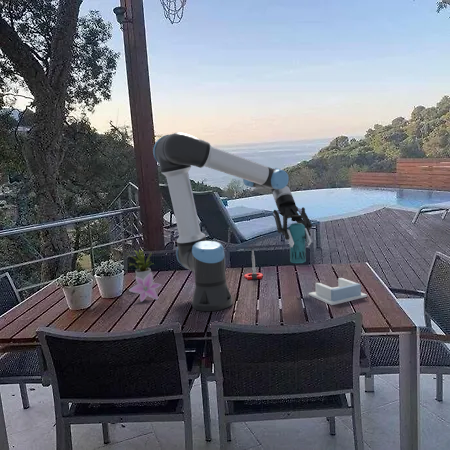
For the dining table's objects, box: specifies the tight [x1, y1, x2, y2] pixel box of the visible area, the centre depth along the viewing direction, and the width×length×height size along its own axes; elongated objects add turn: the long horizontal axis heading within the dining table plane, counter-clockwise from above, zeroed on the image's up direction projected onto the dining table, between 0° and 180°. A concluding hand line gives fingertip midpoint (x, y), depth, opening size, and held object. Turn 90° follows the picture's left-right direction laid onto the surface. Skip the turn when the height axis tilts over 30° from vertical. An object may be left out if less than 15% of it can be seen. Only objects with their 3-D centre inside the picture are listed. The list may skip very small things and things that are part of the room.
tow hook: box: [244, 250, 264, 281], centre depth 196 cm, size 8×13×9 cm
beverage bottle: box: [288, 214, 307, 264], centre depth 171 cm, size 6×7×20 cm
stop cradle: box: [308, 277, 368, 306], centre depth 162 cm, size 16×14×5 cm
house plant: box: [127, 249, 155, 280], centre depth 200 cm, size 14×14×16 cm
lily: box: [128, 271, 162, 303], centre depth 177 cm, size 12×12×10 cm
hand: (301, 244), depth 167 cm, fingers closed on beverage bottle, 6 cm apart
